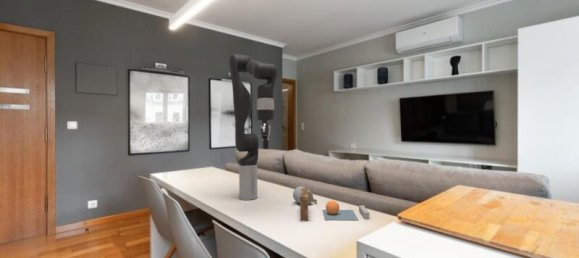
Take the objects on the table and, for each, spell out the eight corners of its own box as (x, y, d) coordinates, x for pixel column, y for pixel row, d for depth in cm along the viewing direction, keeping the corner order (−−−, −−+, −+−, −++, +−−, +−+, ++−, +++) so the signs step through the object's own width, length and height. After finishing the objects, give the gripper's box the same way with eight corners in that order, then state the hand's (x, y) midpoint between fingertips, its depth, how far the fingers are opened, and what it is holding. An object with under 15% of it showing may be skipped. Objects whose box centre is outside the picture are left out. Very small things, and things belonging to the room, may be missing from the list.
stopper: (364, 219, 108) (364, 212, 108) (359, 211, 118) (359, 205, 118) (369, 219, 108) (369, 212, 108) (363, 211, 118) (363, 205, 118)
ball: (341, 200, 116) (341, 213, 115) (329, 198, 119) (329, 211, 119) (335, 202, 111) (335, 216, 111) (323, 201, 114) (323, 214, 114)
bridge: (300, 220, 107) (300, 196, 107) (300, 209, 122) (300, 188, 122) (308, 220, 107) (308, 196, 107) (307, 209, 122) (307, 188, 121)
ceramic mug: (300, 207, 125) (300, 190, 125) (292, 202, 133) (292, 186, 133) (320, 204, 130) (320, 188, 130) (311, 200, 137) (311, 185, 137)
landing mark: (324, 220, 107) (324, 219, 107) (322, 210, 120) (322, 209, 120) (358, 220, 107) (358, 219, 107) (352, 210, 120) (352, 209, 120)
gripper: (272, 108, 114) (272, 150, 114) (275, 110, 127) (275, 147, 127) (254, 108, 114) (254, 150, 114) (259, 110, 127) (259, 147, 127)
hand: (265, 148), depth 121 cm, fingers closed
